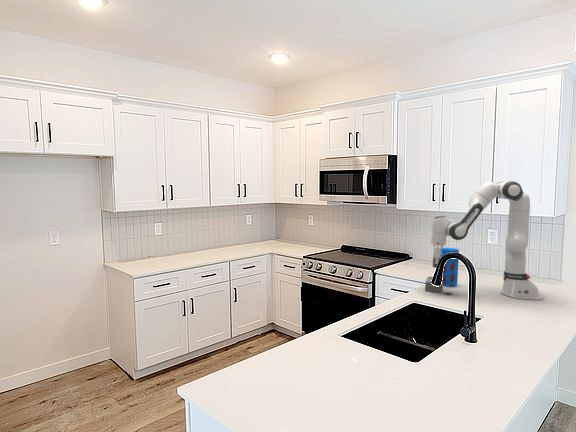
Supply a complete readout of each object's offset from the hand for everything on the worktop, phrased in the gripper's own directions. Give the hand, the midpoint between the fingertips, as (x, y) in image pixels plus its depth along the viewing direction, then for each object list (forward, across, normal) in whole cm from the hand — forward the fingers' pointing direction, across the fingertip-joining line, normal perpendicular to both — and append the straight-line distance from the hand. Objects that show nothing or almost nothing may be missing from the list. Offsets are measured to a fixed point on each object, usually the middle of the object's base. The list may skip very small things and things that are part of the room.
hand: (436, 262), depth 251 cm
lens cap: (+18, -4, -8) cm, 21 cm away
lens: (+3, 0, 0) cm, 3 cm away
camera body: (+18, +1, +1) cm, 18 cm away
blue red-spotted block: (+18, +21, -8) cm, 29 cm away
